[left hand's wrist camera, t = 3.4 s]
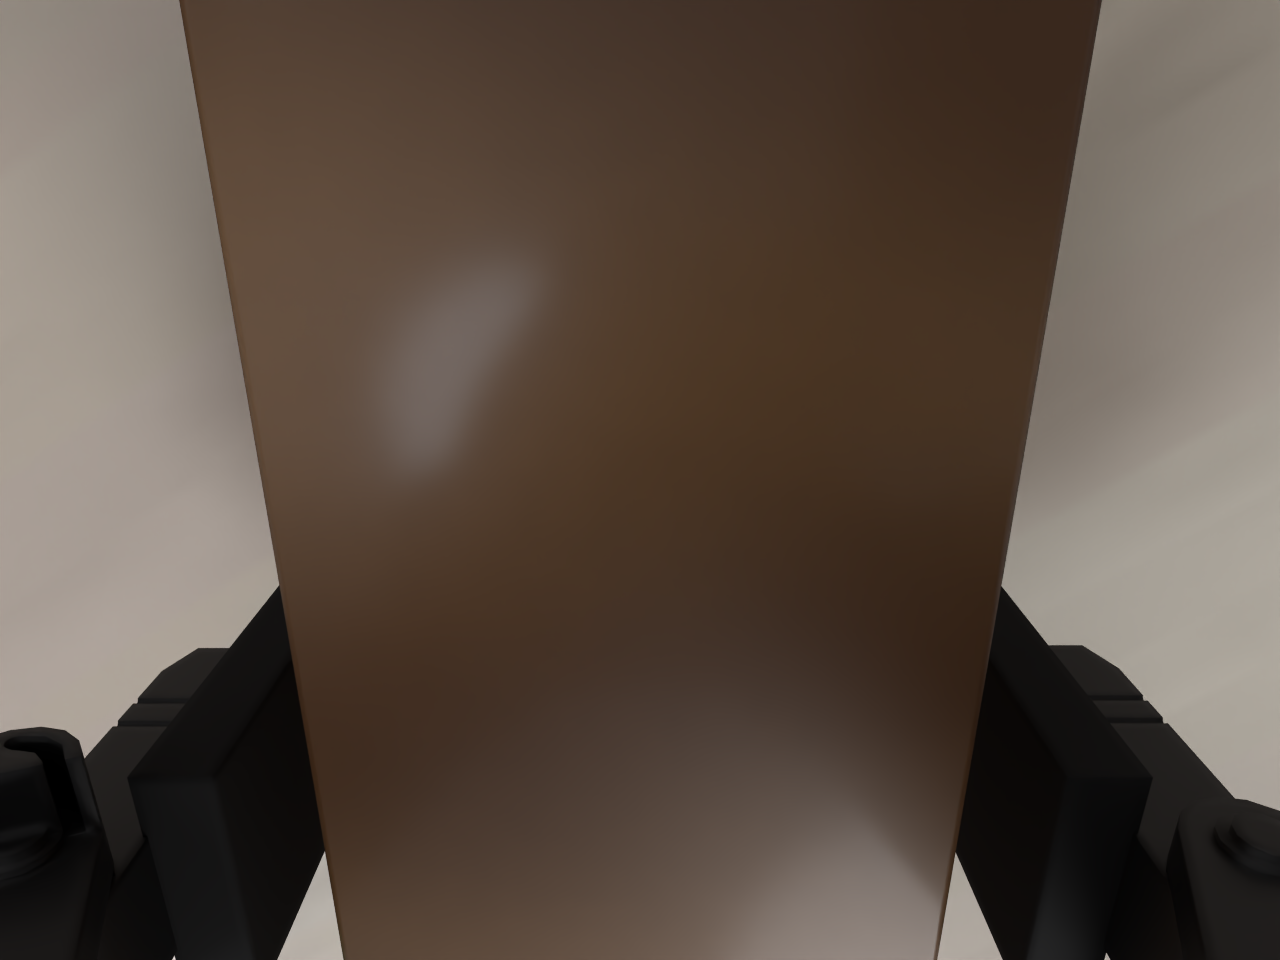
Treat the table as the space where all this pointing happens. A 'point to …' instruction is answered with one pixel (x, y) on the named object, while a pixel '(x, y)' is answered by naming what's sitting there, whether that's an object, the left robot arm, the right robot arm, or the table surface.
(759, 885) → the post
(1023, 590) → the table surface
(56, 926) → the left robot arm
